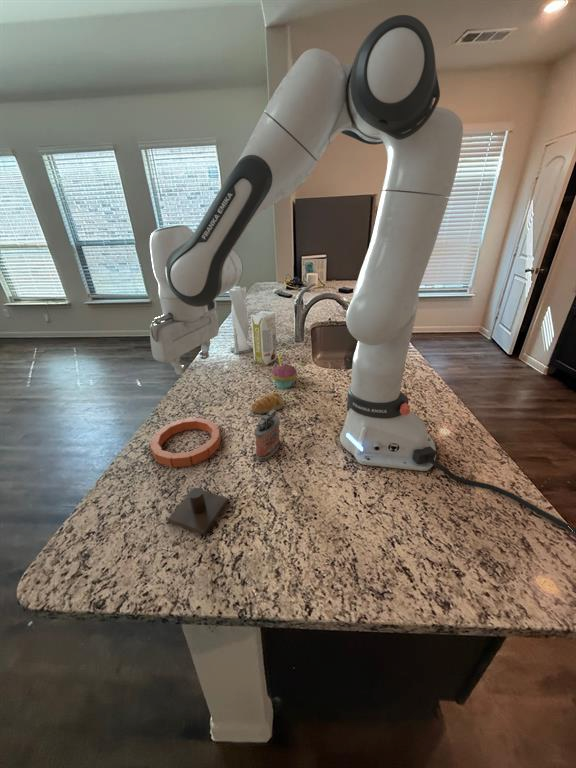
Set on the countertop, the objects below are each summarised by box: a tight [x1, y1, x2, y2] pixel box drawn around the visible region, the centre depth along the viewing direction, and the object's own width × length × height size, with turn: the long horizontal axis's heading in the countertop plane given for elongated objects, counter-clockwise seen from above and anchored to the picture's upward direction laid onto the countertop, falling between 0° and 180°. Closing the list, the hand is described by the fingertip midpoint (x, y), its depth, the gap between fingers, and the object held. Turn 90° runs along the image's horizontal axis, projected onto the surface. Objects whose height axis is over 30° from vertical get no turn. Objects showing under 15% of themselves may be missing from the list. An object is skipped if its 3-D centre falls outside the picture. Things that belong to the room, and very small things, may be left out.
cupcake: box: [270, 351, 298, 389], centre depth 103 cm, size 9×8×12 cm
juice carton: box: [250, 310, 278, 366], centre depth 120 cm, size 8×9×19 cm
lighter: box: [253, 410, 281, 462], centre depth 73 cm, size 8×3×10 cm, turn 148°
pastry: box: [251, 391, 285, 415], centre depth 92 cm, size 9×7×4 cm
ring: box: [149, 417, 222, 468], centre depth 78 cm, size 16×16×2 cm
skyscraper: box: [228, 285, 253, 355], centre depth 130 cm, size 8×8×28 cm
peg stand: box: [167, 487, 229, 536], centre depth 59 cm, size 8×8×5 cm
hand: (193, 365), depth 75 cm, fingers open, 8 cm apart
